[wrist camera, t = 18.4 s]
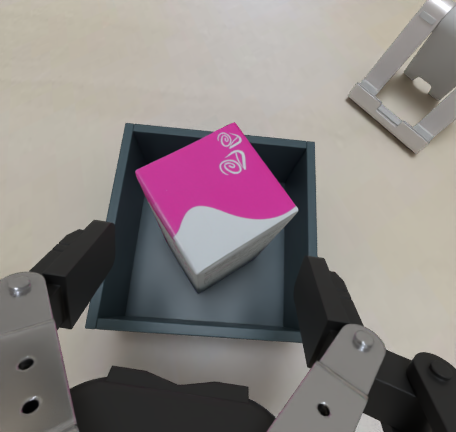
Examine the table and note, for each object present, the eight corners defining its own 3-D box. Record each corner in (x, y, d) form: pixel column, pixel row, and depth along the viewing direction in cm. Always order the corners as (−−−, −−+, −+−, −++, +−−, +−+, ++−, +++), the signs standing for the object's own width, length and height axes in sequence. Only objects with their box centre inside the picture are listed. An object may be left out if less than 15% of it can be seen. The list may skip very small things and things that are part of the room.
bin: (117, 323, 23) (84, 328, 16) (143, 166, 27) (125, 122, 20) (289, 334, 23) (319, 344, 17) (290, 179, 27) (315, 141, 21)
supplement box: (260, 255, 24) (304, 212, 14) (197, 295, 23) (190, 283, 12) (222, 198, 26) (235, 116, 15) (161, 233, 24) (125, 171, 13)
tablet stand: (344, 99, 30) (394, 25, 22) (389, 60, 32) (450, -21, 24) (411, 157, 29) (490, 99, 21) (454, 112, 31) (541, 43, 23)
